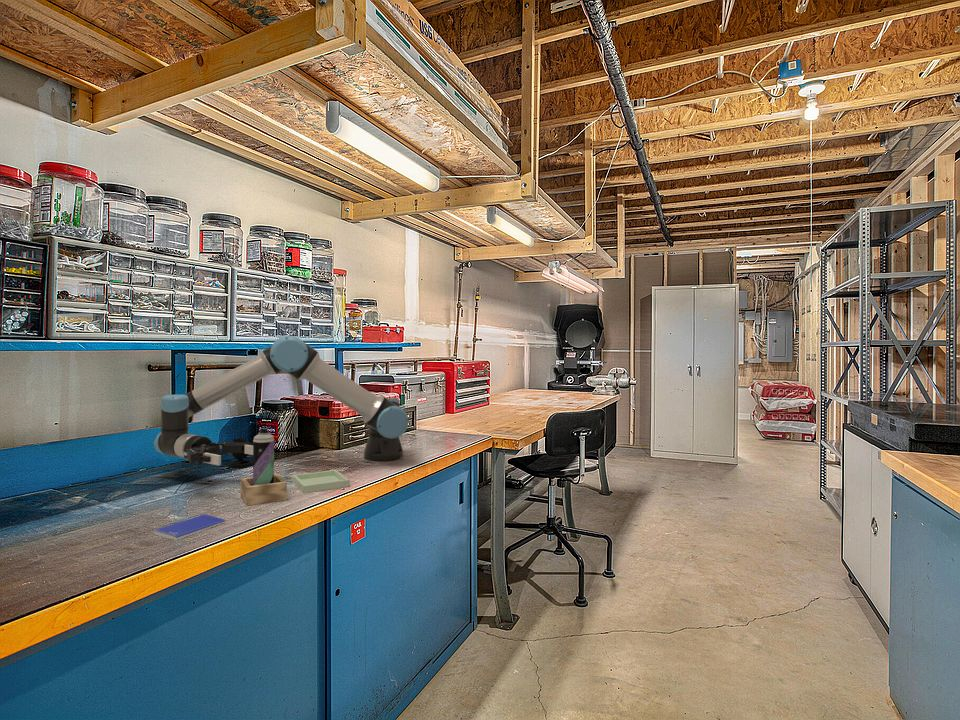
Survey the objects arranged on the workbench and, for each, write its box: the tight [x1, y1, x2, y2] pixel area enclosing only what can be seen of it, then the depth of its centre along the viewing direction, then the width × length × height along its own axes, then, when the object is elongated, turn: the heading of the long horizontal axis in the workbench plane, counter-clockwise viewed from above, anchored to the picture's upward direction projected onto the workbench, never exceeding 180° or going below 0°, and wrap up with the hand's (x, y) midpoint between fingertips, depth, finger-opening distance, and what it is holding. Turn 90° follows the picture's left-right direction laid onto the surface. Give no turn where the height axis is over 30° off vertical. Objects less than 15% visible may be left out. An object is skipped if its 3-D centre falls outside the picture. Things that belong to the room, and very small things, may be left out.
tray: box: [291, 469, 351, 494], centre depth 159 cm, size 14×14×2 cm
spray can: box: [252, 427, 275, 486], centre depth 144 cm, size 6×6×20 cm
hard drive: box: [153, 514, 226, 541], centre depth 120 cm, size 2×8×12 cm
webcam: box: [227, 437, 253, 469], centre depth 179 cm, size 8×8×10 cm
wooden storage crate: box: [240, 473, 288, 507], centre depth 144 cm, size 10×10×5 cm
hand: (240, 455), depth 148 cm, fingers open, 13 cm apart
